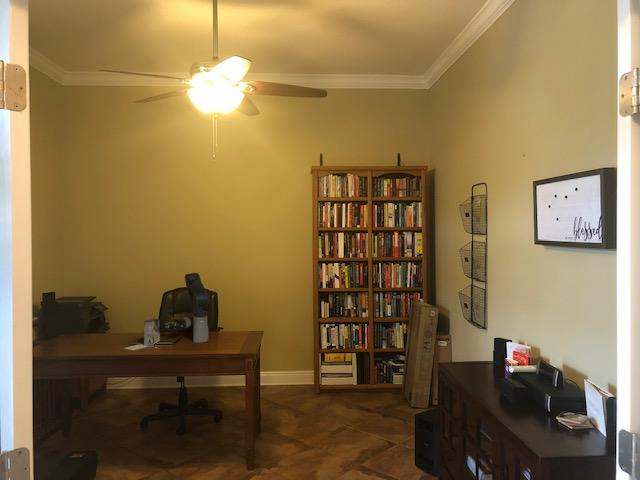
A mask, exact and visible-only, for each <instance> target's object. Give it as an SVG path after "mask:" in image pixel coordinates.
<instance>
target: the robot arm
mask: <svg viewBox="0 0 640 480" xmlns="http://www.w3.org/2000/svg"><path fill="white" fill-rule="evenodd" d="M184 282H185V285H186V288H187V292H188V296H189V299H190V302H191V309H192V312H193V316H187V317H181V318H177V319H175V320H174V321H171V322H170V321H168V322H163V324H160V329H165V328H168V330H178V331H179V330H184V329H187V328H191V327H193V343H197V344H199V343H200V344H201V343H205V342H208V341H209V326H208V312H207V311H206V310H204V309H203V307H208V306H209V305H210V300H211V299H210V295H209V293H208V292H207V290H206V289H205V286H204V284H203V282H202V280H201V276H200V274H199V273H198V272H192V273H185V275H184Z"/></svg>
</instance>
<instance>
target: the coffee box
mask: <svg viewBox="0 0 640 480" xmlns="http://www.w3.org/2000/svg"><path fill="white" fill-rule="evenodd" d="M160 323H161V320H160V318H150V319H147V320H144V321H143V326H144V327H143V332H144V333H143V335H144V339H143V341H144V343H143V345H147V346H155V345H156V344H155V343H157V342H159V341H160V342H161V335H160V334H161V330H160V329H161V328H160V325H161V324H160ZM160 342H159V343H160ZM154 344H155V345H154ZM157 344H158V343H157Z"/></svg>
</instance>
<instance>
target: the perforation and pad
mask: <svg viewBox="0 0 640 480" xmlns="http://www.w3.org/2000/svg"><path fill="white" fill-rule="evenodd" d="M149 347H151V345H144V344H135V345H131V346H127V347H124V350H128V351H137V350H141V349H144V348H149ZM154 348H156V349H158V346H157V347H156V346H155V347H154Z"/></svg>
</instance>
